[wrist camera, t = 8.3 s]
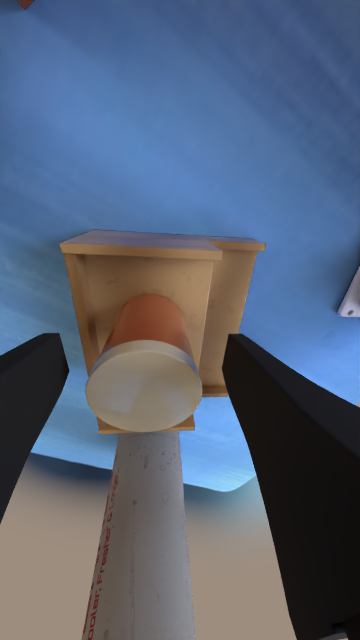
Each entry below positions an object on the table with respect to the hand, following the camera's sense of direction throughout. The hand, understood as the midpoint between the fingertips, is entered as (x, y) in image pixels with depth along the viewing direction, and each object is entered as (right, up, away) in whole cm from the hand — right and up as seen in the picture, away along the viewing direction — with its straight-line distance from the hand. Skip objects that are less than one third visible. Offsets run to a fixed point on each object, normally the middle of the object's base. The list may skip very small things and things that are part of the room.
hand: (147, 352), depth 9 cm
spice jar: (-1, +1, +5) cm, 5 cm away
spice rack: (+1, +1, +10) cm, 10 cm away
